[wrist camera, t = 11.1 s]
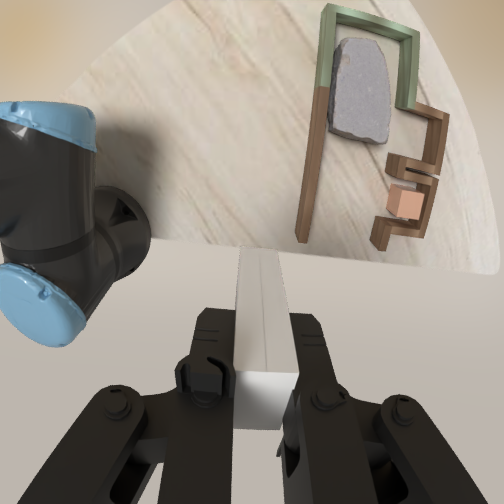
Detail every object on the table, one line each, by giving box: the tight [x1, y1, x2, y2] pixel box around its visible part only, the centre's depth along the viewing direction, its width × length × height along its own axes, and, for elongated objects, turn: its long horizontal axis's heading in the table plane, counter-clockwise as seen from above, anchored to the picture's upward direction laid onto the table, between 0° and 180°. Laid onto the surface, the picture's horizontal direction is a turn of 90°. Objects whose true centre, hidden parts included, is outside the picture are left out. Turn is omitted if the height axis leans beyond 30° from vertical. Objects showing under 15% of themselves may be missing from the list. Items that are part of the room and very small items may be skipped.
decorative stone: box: [327, 38, 391, 144], centre depth 32 cm, size 15×7×10 cm
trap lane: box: [295, 3, 450, 251], centre depth 35 cm, size 20×33×4 cm, turn 175°
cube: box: [386, 183, 424, 220], centre depth 39 cm, size 4×4×4 cm
